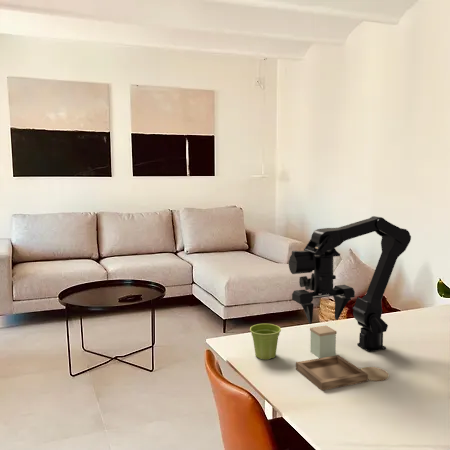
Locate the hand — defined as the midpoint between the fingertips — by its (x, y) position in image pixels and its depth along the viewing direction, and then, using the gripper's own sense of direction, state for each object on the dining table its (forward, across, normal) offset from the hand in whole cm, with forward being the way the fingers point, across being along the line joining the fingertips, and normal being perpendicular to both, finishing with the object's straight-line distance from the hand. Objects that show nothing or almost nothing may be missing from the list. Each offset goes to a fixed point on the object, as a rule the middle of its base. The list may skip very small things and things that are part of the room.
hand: (323, 321), depth 146 cm
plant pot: (+10, +17, -5) cm, 21 cm away
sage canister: (+10, 0, 0) cm, 10 cm away
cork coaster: (+10, -5, +18) cm, 21 cm away
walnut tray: (+10, +6, +14) cm, 18 cm away
